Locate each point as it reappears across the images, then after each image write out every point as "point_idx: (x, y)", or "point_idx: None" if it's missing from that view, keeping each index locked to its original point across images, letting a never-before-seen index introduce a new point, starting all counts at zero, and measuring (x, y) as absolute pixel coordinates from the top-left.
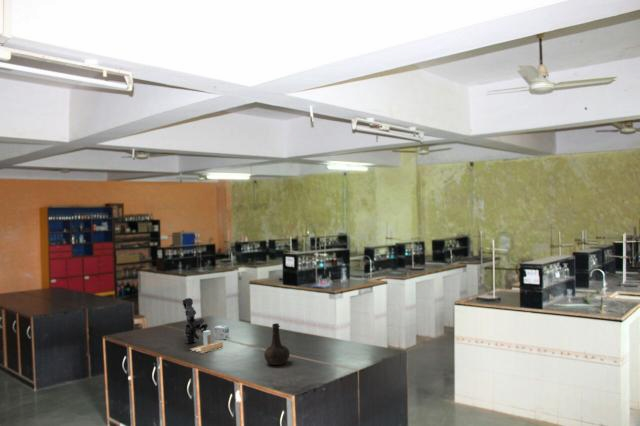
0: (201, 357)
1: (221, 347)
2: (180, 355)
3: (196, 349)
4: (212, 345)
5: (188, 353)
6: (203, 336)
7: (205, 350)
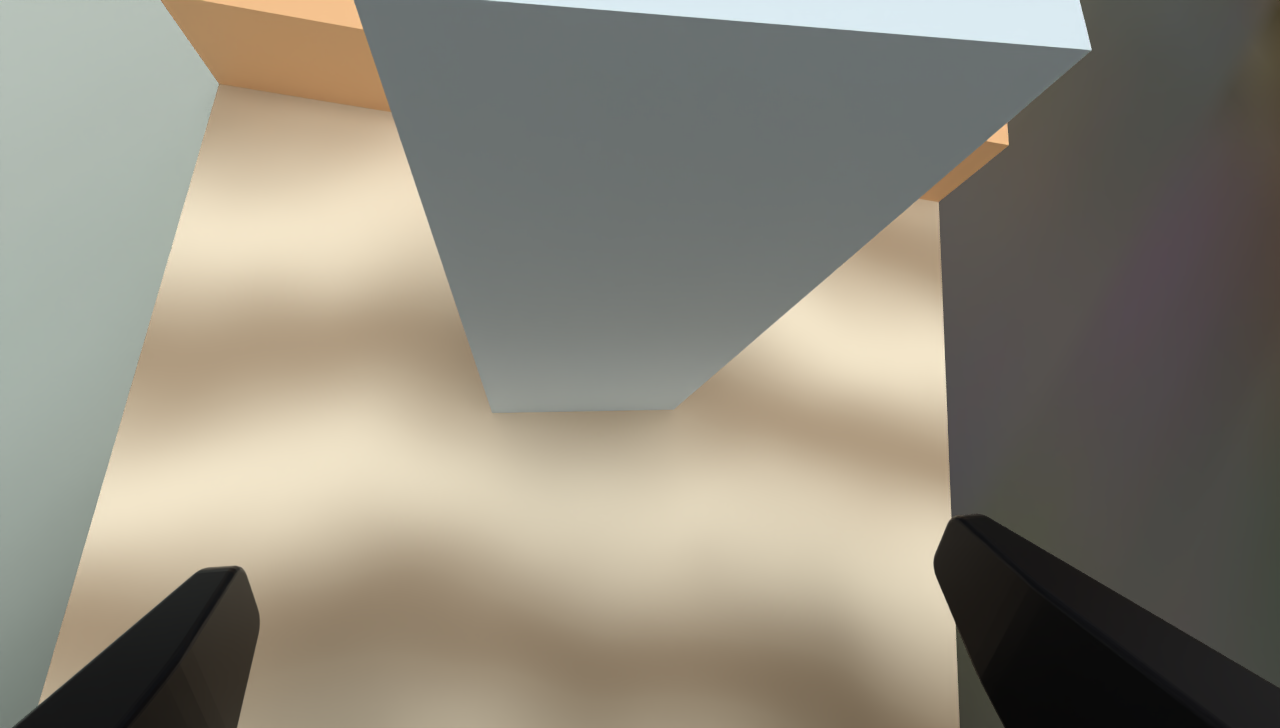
0: None
1: None
2: (1257, 596)
3: (904, 465)
4: None
5: None
6: (821, 262)
7: None
